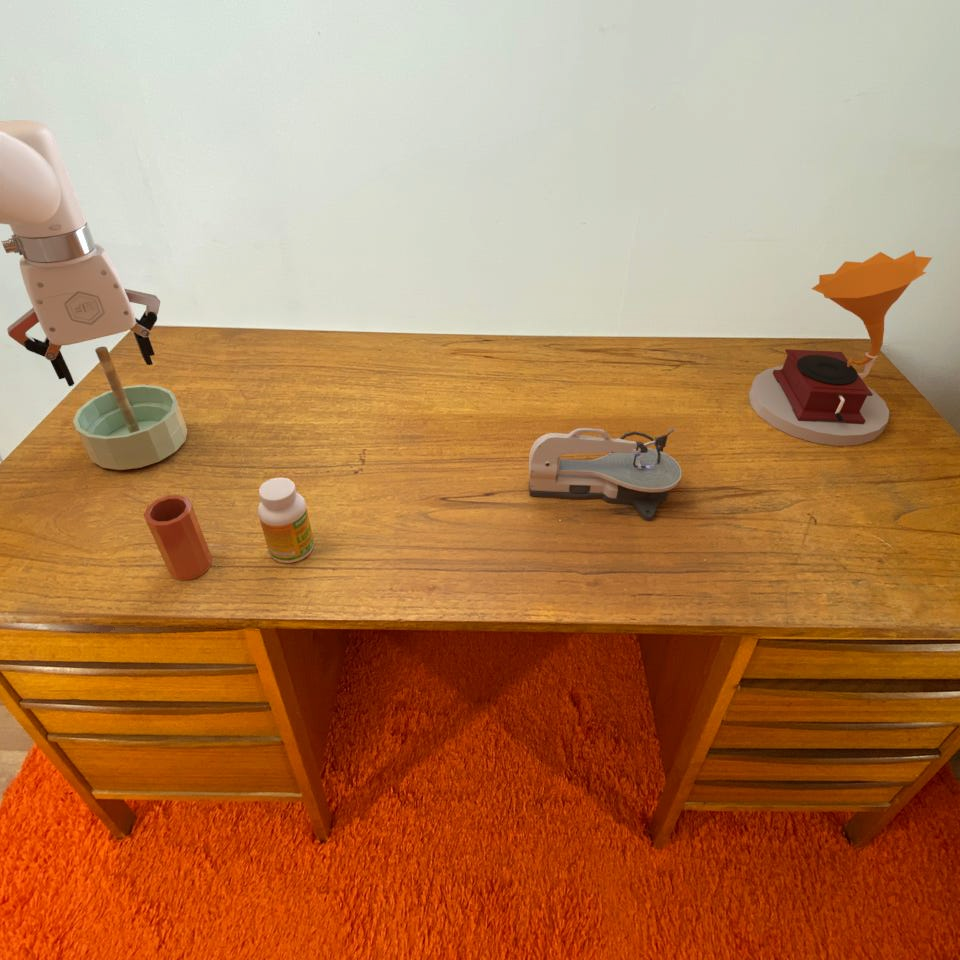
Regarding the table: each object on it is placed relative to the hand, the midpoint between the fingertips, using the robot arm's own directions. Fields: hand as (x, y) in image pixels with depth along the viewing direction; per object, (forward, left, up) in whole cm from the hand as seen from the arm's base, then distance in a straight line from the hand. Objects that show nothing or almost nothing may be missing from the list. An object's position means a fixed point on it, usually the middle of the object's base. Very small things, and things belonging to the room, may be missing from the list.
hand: (110, 370), depth 85 cm
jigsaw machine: (+50, -45, -12) cm, 68 cm away
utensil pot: (0, -28, -12) cm, 31 cm away
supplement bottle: (+11, -32, -12) cm, 36 cm away
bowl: (0, 0, -12) cm, 12 cm away
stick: (0, 0, -12) cm, 12 cm away
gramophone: (+93, -49, -12) cm, 105 cm away
